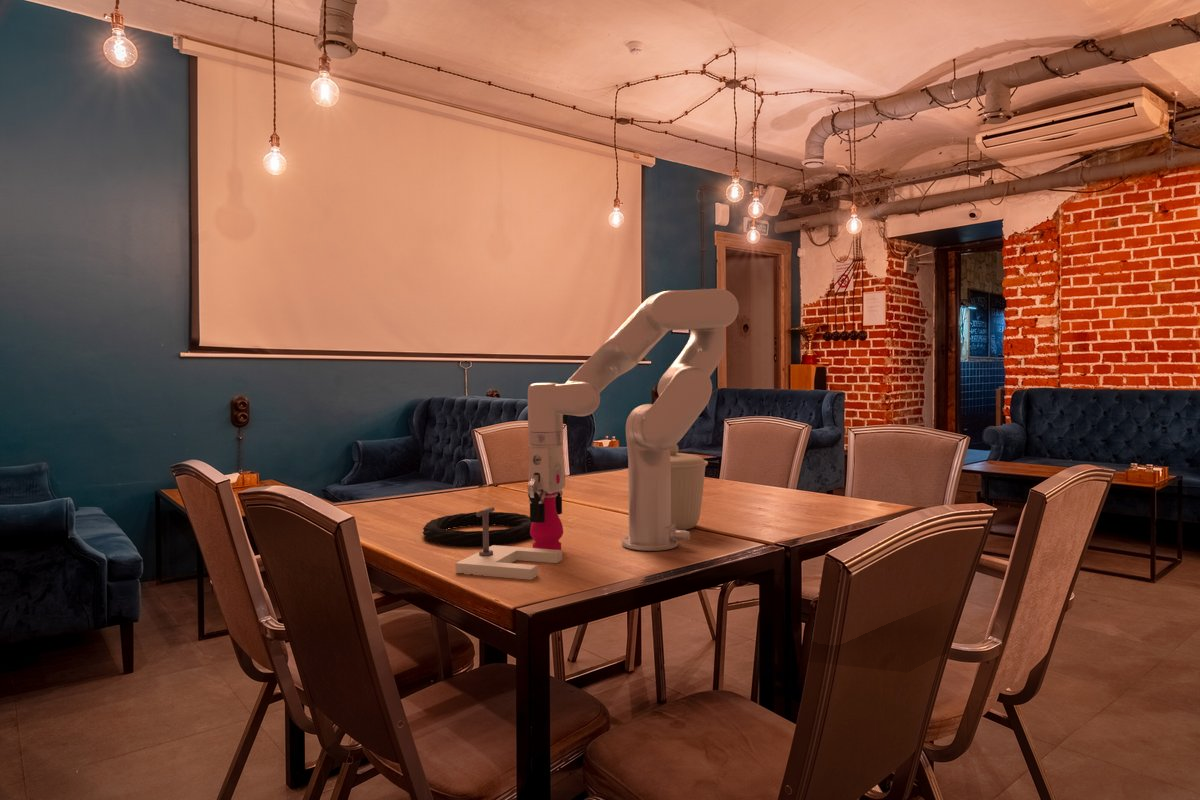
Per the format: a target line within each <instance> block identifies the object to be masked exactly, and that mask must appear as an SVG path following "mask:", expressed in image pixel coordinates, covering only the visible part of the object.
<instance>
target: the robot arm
mask: <svg viewBox="0 0 1200 800" xmlns="http://www.w3.org/2000/svg"><path fill="white" fill-rule="evenodd" d="M739 309H740V308H739V302H738V300H737V298H736V297H735V295H734V294H733V293H732V292H731V291H729V290H727V289H724V288H707V289H706V288H705V289H703V288H702V289H687V290H685V289H684V290H681V289H680V290H666V291H665V290H664V291H660V292H658V293H655V294H652V295H650V296H649V297H647V298H646V299H645V300H644V301H643V302H642V303H641V304H640V305H639V306H638V307H637V308H636V309H635V310H634V312H632V314H630V316H628V318H627V319H626V320H625V321H624V322H623V323H622V324H621V325H620V326H619V328H618V329H617V330H615V332H614V333H613V334H612V335H611V336H610V337H609V338H608V339H607V340H606V341H605V342H604V343H603V344H601V346H600V347H599V348H598V349H597V350H596V351H595V352H594V353H593V354H592V355H591V356H590V357H589V358H588V359H586V361H585V362H584V363H583V364H581V366H580V367H579V368H578V369H577V370H576V371H575V372H574V373H573V374H572V375H571V377H569V378H568V380H567V381H566V382H565V383H558V382H534V383H531V384H530V385H529V386H528V388H527V426H528V427H527V429H528V430H527V439H528V440H527V441H528V443H527V445H528V447H529V448H530V449H529V460H528V461H529V462H528V483H527V486H526V488H527V493H528V495H527V497H528V499H529V500H528V503H529V517H530V521H531V522H537V523H543V522H545V504H543V501H544V497H545V493H546V492H547V493H548V494H551V493H554V492H556V491H557V494H558V496H556V501H555V503H556V511H557V514H558V515H562V514H563V497H562V496H563V489H564V488H565V486H566V472H565V458H564V449H563V447H564V418H563V417H564V416H565V415H566V416H567V415H568V416H574V417H575V416H576V417H587V416H590V415H592V414H593V413H594V412H596V410H597V409H598V408H599V406H600V403H601V395H600V393H602V391H603V390H605V388H606V387H607V386H608V385H610V384H611V383H612V382H613V381H614V380H616V379H617V378H618V377H620V376H622V375H624V374H626V373H627V372H628V371H631V370H632V369H633V368H635V367H637V365H638V364H639V363H640V362H641V361H642V360H643V359H644V358H645V357H646V355H647V354H648V353H650V351H651V350H652V349H653V348H654V347H655V346H656V345H657V343H658V342H660V341H661V339H662V338H663V337H664V336H665V335H666V334H667V333H668V332H670V331H682V330H683V331H687V330H690V333H689V338H688V341H687V342H686V344H685V346H684V347H683V349H682V351H681V352H680V353H679V355H677V356H676V359H675V360H674V361H673V362H672V363H671V364H670V366H669V367H668V369H667V370H666V371H665V372H664V373H663V374H662V376H661V377H660V379H659V382H658V384H657V394H658V397H657V398H656V400H655V401H654V402H653V404H652V403H645V404H644V403H643V404H642V405H639V406H637V407H635V408H634V409H632V411H630V414H629V415H628V417H627V418H626V423H625V438H626V440H625V441H626V447H627V460H628V462H627V463H628V464H627V465H628V474H627V476H628V477H627V478H628V480H627V481H628V482H627V483H628V485H627V487H628V488H627V489H628V536H626V537H623V538H622V539H621V545H622V546H623V548H626V549H630V550H636V551H645V552H648V551H650V552H651V551H653V552H654V551H656V552H657V551H667V550H672V549H676V548H677V547H679V546H678V545H679V540H681V541H690V539H691V532H690V531H687V530H688V529H686V530H677V529H675V524H671V459H670V451H669V449H670V448H672V447H673V446H675V445H678V443H679V442H680V441H681V439H682V438H684V436H685V435H686V434H687V432H688V431H689V430H690V429H691V427H692V426H693V424H695V421H696V420H697V419H698V418H699V416H700V415H701V414H702V412H703V411H704V410H705V408H706V406H707V405H708V403H709V401H710V399H711V396H712V393H713V383H712V379H711V376H712V375H713V373H714V372H715V370H716V368H717V367H718V366H719V364H720V362H721V361H722V359H723V357H724V355H725V351H726V347H727V346H726V344H727V343H726V342H727V338H726V336H727V335H726V329H725V328H726V327H728V326H730V325H732V324H733V323H734V322H735V320H736V319H737V316H738V315H739V312H740V311H739ZM558 474H559V476H560V482H559V484H557V480H556V479H557V478H556V475H558ZM539 481H540V482H539ZM538 494H540V497H539V495H538Z"/></svg>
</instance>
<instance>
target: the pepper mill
mask: <svg viewBox="0 0 1200 800" xmlns="http://www.w3.org/2000/svg"><path fill="white" fill-rule="evenodd" d="M556 478H557V479H556V480H557V484H559V482H560V476H559V474H558V475H556ZM539 482H540V481H539ZM538 495H539V497H540V494H538ZM556 496H558V494H557V491H556V492H554V493H551V494H548V493H547V492H546V493H545V497H544V501H543V504H545V522H543V523H537V522H532V524H531V528H530V535H531V537H530V538H531V539H533V540H534V542H533V543H532V548H539V549H553V550H562V542H561V541H560V539H561V538H562V537H563V534H564V526H563V523H562V520H561V518H560V516H559V514H557V511H556V503H555V501H556Z"/></svg>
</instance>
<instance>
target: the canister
mask: <svg viewBox="0 0 1200 800" xmlns="http://www.w3.org/2000/svg"><path fill="white" fill-rule="evenodd" d="M669 451H670V459H671V524H675V529H677V530H690V529H693V528H694V527H696V526H697V525H698V523H699V520H700V517H701V510H702V501H703V496H704V495H703V494H704V484H705V476H706V475H705V472H706V466H708V464H709V462H708V460H705V459H704V458H703V457H702V456H699V455H696V454H691V453H690V454H688V453H679V446H678V444H676V445H675V446H673V447H672V448H670V449H669Z"/></svg>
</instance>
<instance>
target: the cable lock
mask: <svg viewBox="0 0 1200 800" xmlns="http://www.w3.org/2000/svg"><path fill="white" fill-rule="evenodd" d="M477 512H478V511H474V512H468V513H465V512H464V513H463V512H461V513H457V514H452V515H445V516H440V517H437V518H436V519H435V518H434V519H431V520H430V521H427V522H426V524H425V525H424V526H423V528H422V530H423V531H422V534H423V536H424V538H425V539H426V540H428V541H429V542H430V541H431V542H430V543H433V542H435V543H434V544H438V543H440V544H439V545H442V544H444V545H443V546H453V545H455V547H463V546H464V547H465V546H466V548H467V546H468V547H483V530H470V531H469V530H468V531H466V530H457V529H456V530H454V528H453V527H457V528H461V527H460V526H466V527H469V526H468V525H476V526H483V515H482V516H480V517H477V516H476V513H477ZM488 514H489V526H493V525H492V524H495V525H494V526H500V525H504V526H506V525H508V526H507V528H502V529H491V530H489V547H490V545H491V546H492V545H497V546H502V545H508V544H512V543H517V542H522V541H525V540H526V539H529V538H532V537H531V535H530V528H531V524H532V522H531V521H530V515H527V514H521V513H518V512H504V511H493V512H490V513H488ZM512 526H513V527H512ZM508 527H509V528H508ZM448 528H453V529H448ZM446 529H448V530H446Z"/></svg>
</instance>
